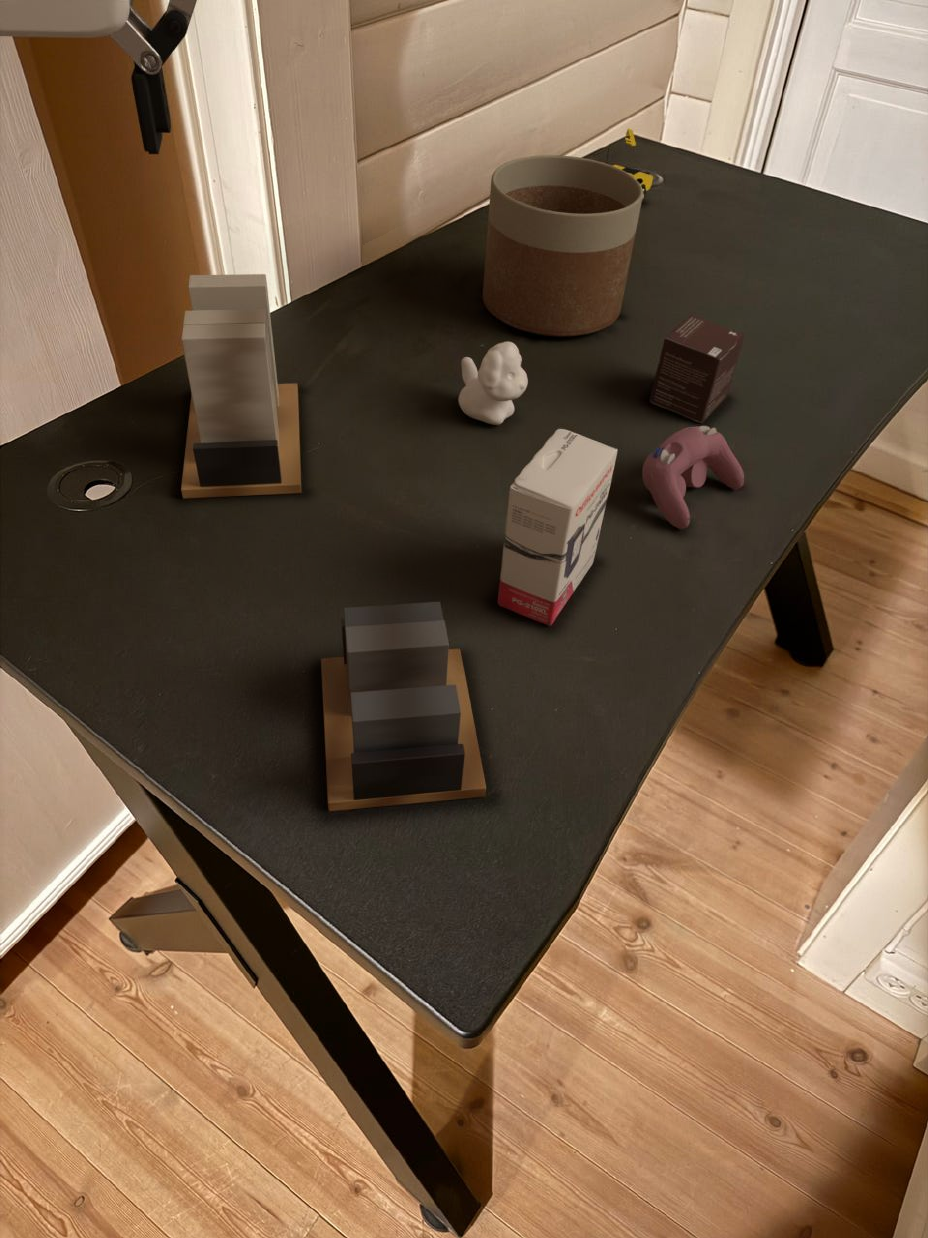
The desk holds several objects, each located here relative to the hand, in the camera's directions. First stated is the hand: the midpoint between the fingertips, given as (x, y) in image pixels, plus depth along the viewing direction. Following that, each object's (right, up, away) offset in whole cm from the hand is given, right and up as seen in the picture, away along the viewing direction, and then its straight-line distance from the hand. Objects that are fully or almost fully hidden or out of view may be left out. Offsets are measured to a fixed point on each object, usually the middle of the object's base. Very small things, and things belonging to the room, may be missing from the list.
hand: (66, 144), depth 51 cm
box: (+45, -5, +41) cm, 61 cm away
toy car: (+43, +31, +75) cm, 92 cm away
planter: (+32, +9, +53) cm, 63 cm away
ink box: (+29, -24, +21) cm, 43 cm away
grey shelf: (+18, -34, +11) cm, 40 cm away
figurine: (+25, -7, +37) cm, 45 cm away
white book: (+2, -6, +35) cm, 35 cm away
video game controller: (+42, -16, +30) cm, 54 cm away
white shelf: (+2, -10, +32) cm, 34 cm away
